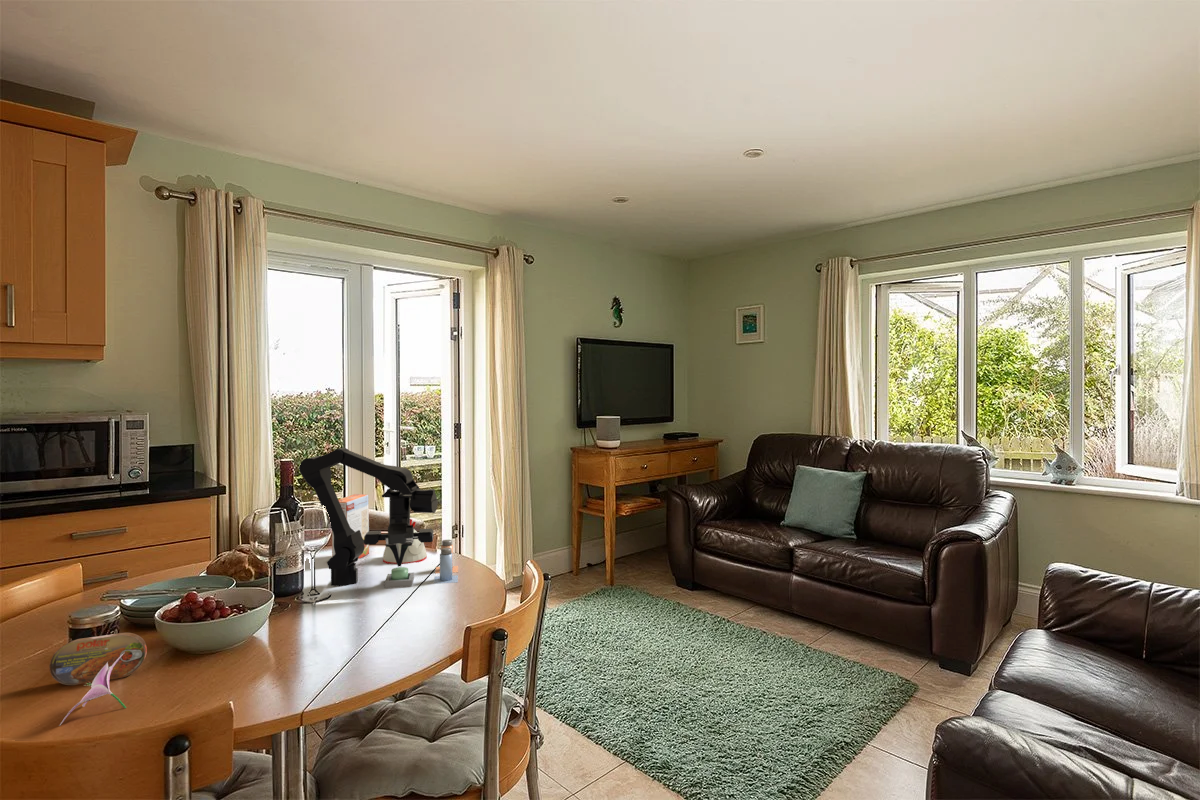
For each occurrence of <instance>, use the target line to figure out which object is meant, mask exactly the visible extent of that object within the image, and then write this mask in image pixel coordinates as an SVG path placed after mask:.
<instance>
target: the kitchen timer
mask: <svg viewBox="0 0 1200 800" xmlns="http://www.w3.org/2000/svg"><path fill="white" fill-rule="evenodd" d="M410 525H413V527H414V528H415V526H416V521H413V519H412V518H410ZM415 532H418V531H417V530H416V529H414V533H415ZM398 545H399V556H400V553H401V544H400V543H398ZM427 555H428V554H427V549H426V547H425V542H423V543H421V542H420V541H419V540H418V539H413V544H412V545H411V546H408V548H407V550H406V552H405V555H404V558H403V561H402V564H401V565H403V564H404V565H405V564H407V565H409V564H414V563H421V562H423V561H425V560H426V559H427ZM382 561H383V563H385V564H388V565H390V564H391V565H393V564H394V565H397V563H396V560H395V557H394V554H393V552H392V550H391V549H390V547H386V546H385V548H384V551H383V555H382Z"/></svg>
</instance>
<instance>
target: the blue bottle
mask: <svg viewBox="0 0 1200 800" xmlns="http://www.w3.org/2000/svg"><path fill="white" fill-rule="evenodd" d="M439 567H440V573H439V576H440V581H450V580H452V576H453V573H452V553H451V548H442V549H441V548H440V554H439Z"/></svg>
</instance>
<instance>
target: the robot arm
mask: <svg viewBox="0 0 1200 800" xmlns="http://www.w3.org/2000/svg"><path fill="white" fill-rule="evenodd" d="M339 464H341V465H344V466H346V467H349V468H351V469H353V470H356V471H358V472H361V473H363V474H365V475H368V476H371V477H373V478H374V479H376V480H378V481H379V482H380V483H381V484H382V485H384V486H385V487H386V488H387V490H386V491H385V492H384V493H383V494H381V497H382V498H388V499H389V505H388V506H389V508H388V509H389V512H388V513H389V515H388V516H389V518H388V519H389V521H388V526H387V533H382V530H369V531H368V532H367V533H366V535H365V536H364V540H363V538H362V535H361V532H360V530H358V531H356V532H355V531H354V530H353V529H351V527H350V526H349V524H348V521H347V519H346V517H345V514H344V512H343V510H342V507H341V505H340V503H339V498H338V495H337V494H336V491H335V489H334V486H333V484H332V469H331V468H333V467H334V466H337V465H339ZM298 469H299V473H300V475H301V476H302V478H303V480H304V481H305V482H306V483H307V484H308V485H309V486H310V487H311V488H312V489H313V490H314V491H315V492H314V493H316V496H317V499H318V501H319V503H320V505H324V506H326V509H327V512H328V514H329V517H330V522H331V527H330V529H331V533H332V532H333V534H334V550H335V555H334V556H333V557H332V556H331V557H330V558H329V559H328V560H327V561H326V564H327V567H328V569H329V570H330V586H335V587H347V586H350V585H356V584H357V583H358V581H359V568H357V565H356V564H357V562H358V560H359V559H358V558H359V556H360V555H361V554H362V553H363V551H364V549H365V546H364V545H369V546H371V545H377V544H378V543H379V541H380V542H381V541H385V547H390V549H391V550H392V552H393V554H394V557H395V560H396V563H397V564H396V565H397V567H402V565H403V564H402V561H403V558H404V555H405V552H406V550H407V548H408V546H411V545H412V544H413V539H418V540H419V541H420V542H421V543H432V542H433V541H434V529H433V528H419V530H418V531H417V532H415V533H414V530H415V526H414V527H413V525H412V524H411V525H410V519H411V511H413V513H414V514H417V513H419V514H435V513H436V512H437V508H438V499H437V497H438V496H437V494H436V489H434V488H428V489H421V488H420V487H419V485H418V484H417V482H416V481H415V479H413V474H412V471H411V470H410V469H408V468H407V467H401V466H396V465H388V464H384V463H381V462H379V461H376V460H373V459H371V458H369V457H366V456H364V455H362V454H358V453H356V452H354V451H352V450H349V449H348V448H346V447H340V448H336V449H334V450H333V451H331V452H328V453H325V454H323V455H317V456H312V457H308V458H305V459H303V460H302V461H301V462H300V465H299V466H298ZM324 508H325V507H324ZM398 543H400V544H401V553H400V556H399V545H398Z"/></svg>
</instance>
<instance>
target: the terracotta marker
mask: <svg viewBox="0 0 1200 800" xmlns="http://www.w3.org/2000/svg"><path fill="white" fill-rule="evenodd" d="M442 548H451V553H452V570H453V566H454V564H453V563H454V544H453V540H452V539H443V540H442V541H441V544H440V550H441V549H442Z"/></svg>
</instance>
